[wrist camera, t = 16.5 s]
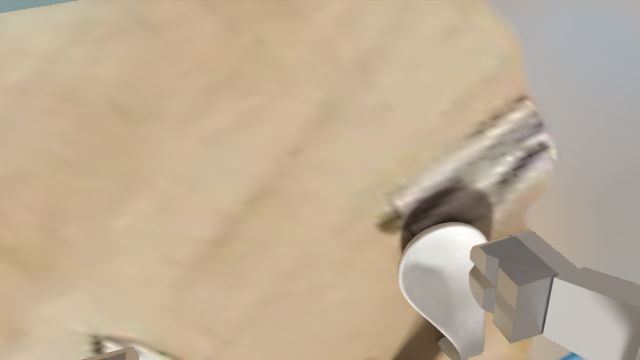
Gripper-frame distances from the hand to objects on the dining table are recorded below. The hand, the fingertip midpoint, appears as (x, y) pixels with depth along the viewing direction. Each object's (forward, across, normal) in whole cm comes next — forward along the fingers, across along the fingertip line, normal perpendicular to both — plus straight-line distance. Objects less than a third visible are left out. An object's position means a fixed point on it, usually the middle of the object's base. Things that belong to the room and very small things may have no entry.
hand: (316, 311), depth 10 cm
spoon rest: (+32, -20, +34) cm, 51 cm away
